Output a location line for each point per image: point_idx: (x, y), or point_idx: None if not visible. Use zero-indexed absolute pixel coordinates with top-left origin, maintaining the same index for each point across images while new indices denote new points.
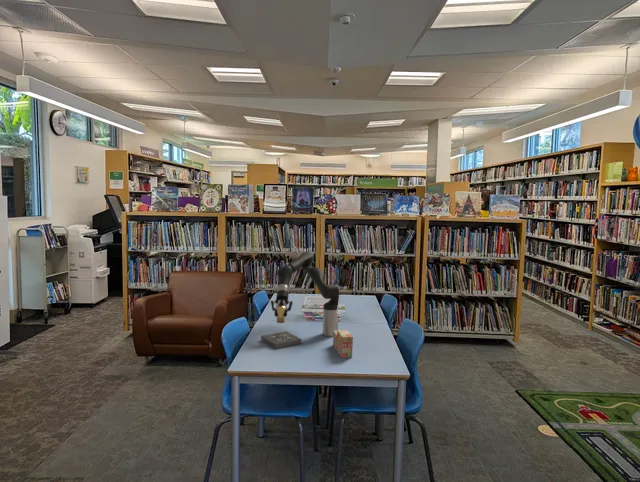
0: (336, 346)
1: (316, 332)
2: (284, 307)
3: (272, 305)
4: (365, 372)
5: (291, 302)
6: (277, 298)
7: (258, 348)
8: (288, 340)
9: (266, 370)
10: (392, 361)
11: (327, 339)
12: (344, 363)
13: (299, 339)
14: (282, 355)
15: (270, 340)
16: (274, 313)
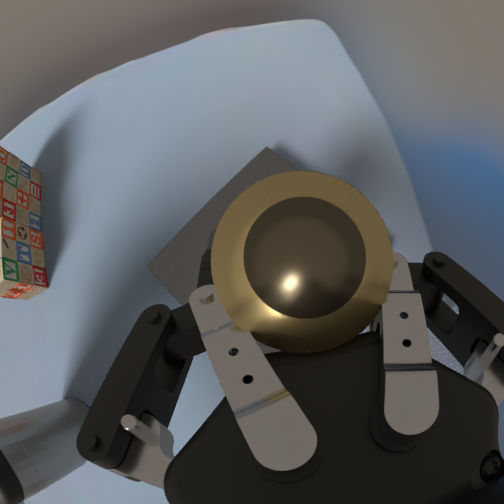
0: (32, 230)
1: None
2: (219, 239)
3: (473, 289)
4: (27, 120)
5: (94, 426)
6: (484, 471)
7: (347, 150)
8: (212, 219)
9: (238, 29)
10: None
11: (71, 360)
12: (44, 141)
13: (156, 256)
14: (217, 110)
15: None
16: None
